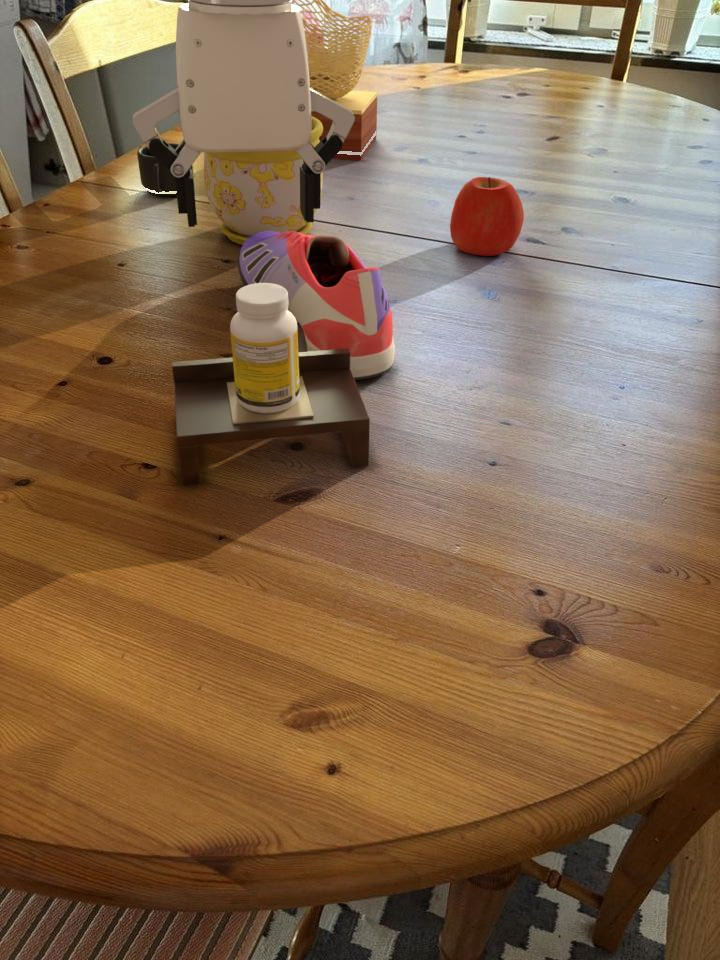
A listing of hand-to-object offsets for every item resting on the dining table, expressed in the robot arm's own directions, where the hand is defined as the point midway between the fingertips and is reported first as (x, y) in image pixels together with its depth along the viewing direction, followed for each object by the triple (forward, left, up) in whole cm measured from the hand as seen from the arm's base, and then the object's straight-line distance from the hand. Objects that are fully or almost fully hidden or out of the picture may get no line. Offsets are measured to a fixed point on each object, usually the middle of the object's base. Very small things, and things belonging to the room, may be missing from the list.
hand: (250, 219), depth 72 cm
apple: (+39, +49, -24) cm, 67 cm away
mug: (-8, +81, -24) cm, 85 cm away
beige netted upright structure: (+21, +109, -24) cm, 114 cm away
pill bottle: (+1, +1, -18) cm, 18 cm away
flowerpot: (+7, +60, -24) cm, 65 cm away
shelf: (+1, +1, -24) cm, 24 cm away
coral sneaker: (+9, +28, -24) cm, 38 cm away
